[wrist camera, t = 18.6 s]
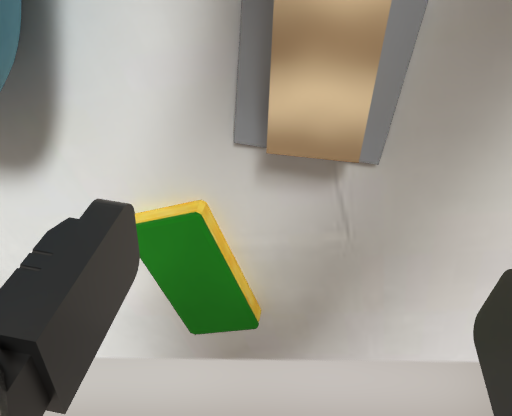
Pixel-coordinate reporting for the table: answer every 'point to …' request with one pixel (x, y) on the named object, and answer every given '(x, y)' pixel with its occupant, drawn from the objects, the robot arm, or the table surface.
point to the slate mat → (259, 65)
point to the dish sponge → (196, 268)
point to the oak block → (323, 76)
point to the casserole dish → (8, 35)
